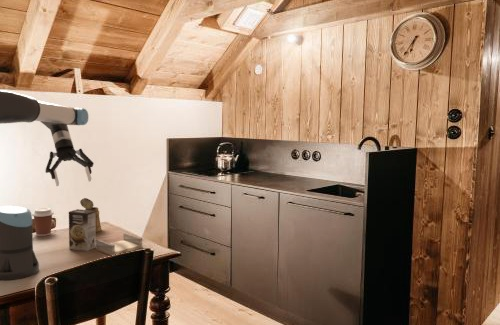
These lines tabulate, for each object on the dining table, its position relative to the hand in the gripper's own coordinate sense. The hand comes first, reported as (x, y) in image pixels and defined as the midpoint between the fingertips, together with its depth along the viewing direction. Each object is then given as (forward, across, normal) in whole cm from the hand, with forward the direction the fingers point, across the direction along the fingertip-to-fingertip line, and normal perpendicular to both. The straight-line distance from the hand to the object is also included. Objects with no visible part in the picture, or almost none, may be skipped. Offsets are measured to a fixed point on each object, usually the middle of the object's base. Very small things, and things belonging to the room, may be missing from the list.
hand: (74, 182), depth 188 cm
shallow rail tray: (+34, -11, -2) cm, 36 cm away
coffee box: (+28, +2, -8) cm, 29 cm away
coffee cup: (+8, +12, -33) cm, 36 cm away
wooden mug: (+13, -8, -28) cm, 32 cm away
